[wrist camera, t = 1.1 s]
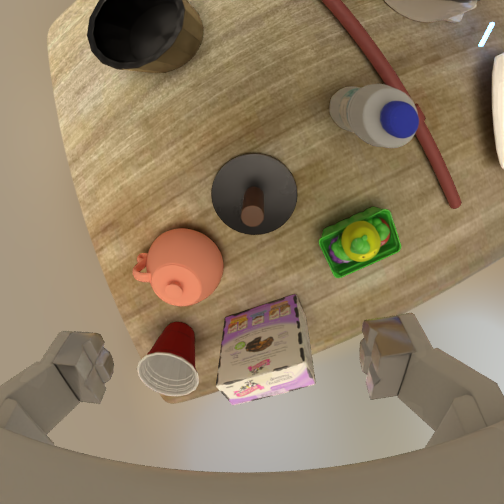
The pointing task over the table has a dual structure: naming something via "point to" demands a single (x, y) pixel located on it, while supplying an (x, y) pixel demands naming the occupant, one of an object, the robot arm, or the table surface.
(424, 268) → the table surface
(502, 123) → the bowl
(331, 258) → the fruit basket
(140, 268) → the sugar bowl
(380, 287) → the table surface
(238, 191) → the lid
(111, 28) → the faceted dark cup
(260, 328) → the candy box
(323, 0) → the red brown collared rod
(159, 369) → the plastic cup
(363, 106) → the bottle
